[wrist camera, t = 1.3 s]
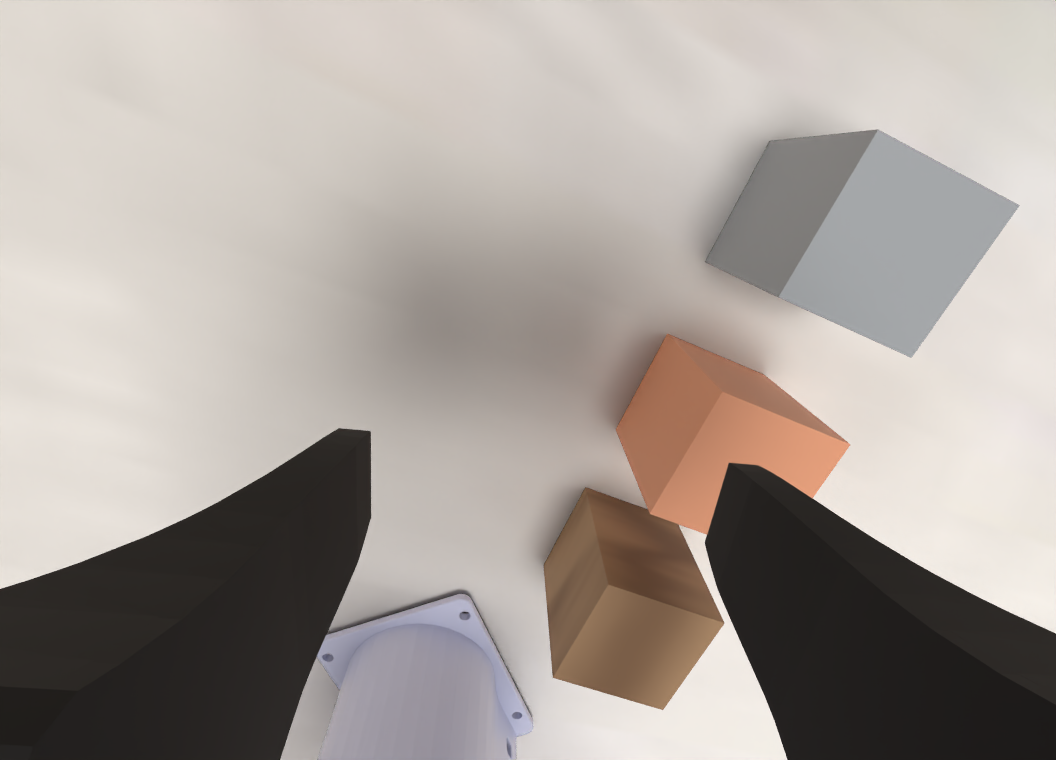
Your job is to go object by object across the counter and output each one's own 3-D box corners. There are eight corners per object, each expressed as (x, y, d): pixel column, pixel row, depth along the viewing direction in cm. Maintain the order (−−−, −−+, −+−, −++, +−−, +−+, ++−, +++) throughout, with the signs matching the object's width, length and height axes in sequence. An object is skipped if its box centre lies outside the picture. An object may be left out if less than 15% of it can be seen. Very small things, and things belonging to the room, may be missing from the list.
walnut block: (675, 519, 24) (724, 623, 19) (630, 593, 26) (662, 709, 20) (585, 486, 24) (608, 584, 18) (543, 564, 25) (552, 677, 20)
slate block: (874, 194, 20) (1020, 205, 14) (805, 307, 21) (911, 357, 16) (769, 141, 19) (878, 129, 13) (704, 261, 20) (778, 297, 15)
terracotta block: (764, 374, 22) (850, 444, 16) (708, 464, 24) (770, 557, 18) (667, 333, 21) (722, 391, 16) (615, 429, 23) (649, 514, 17)
